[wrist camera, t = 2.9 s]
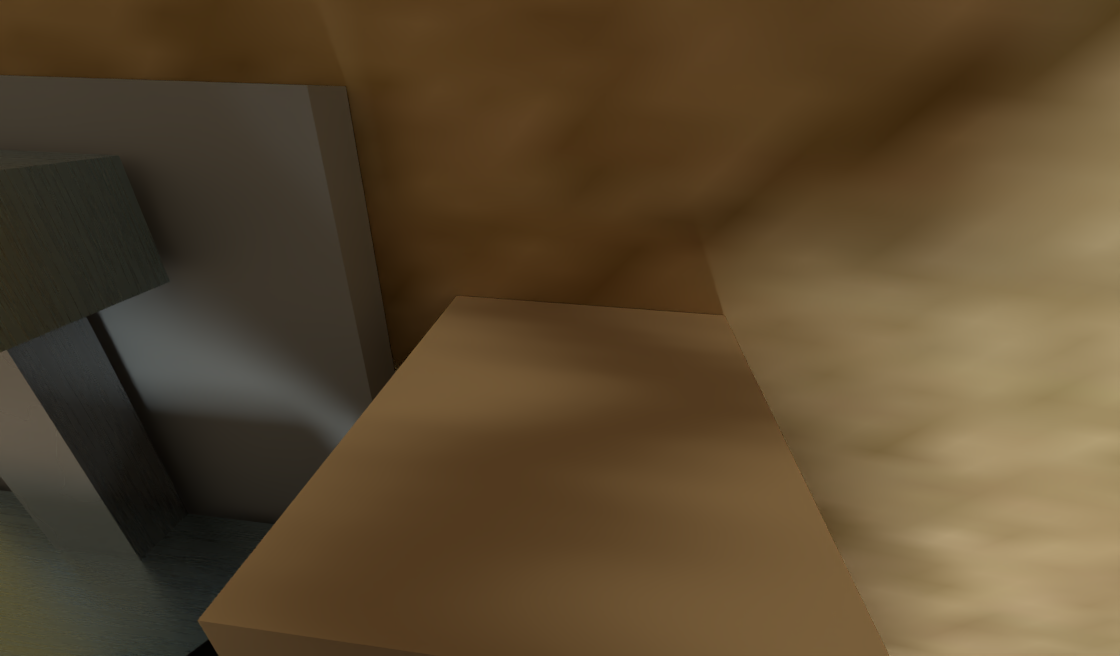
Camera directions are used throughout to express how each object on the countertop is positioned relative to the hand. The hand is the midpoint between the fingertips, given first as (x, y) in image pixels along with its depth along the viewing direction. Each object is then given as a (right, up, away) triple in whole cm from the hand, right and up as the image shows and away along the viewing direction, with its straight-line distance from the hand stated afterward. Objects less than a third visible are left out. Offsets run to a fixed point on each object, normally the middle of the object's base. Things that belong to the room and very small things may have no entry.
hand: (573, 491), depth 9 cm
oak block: (0, +1, +1) cm, 1 cm away
